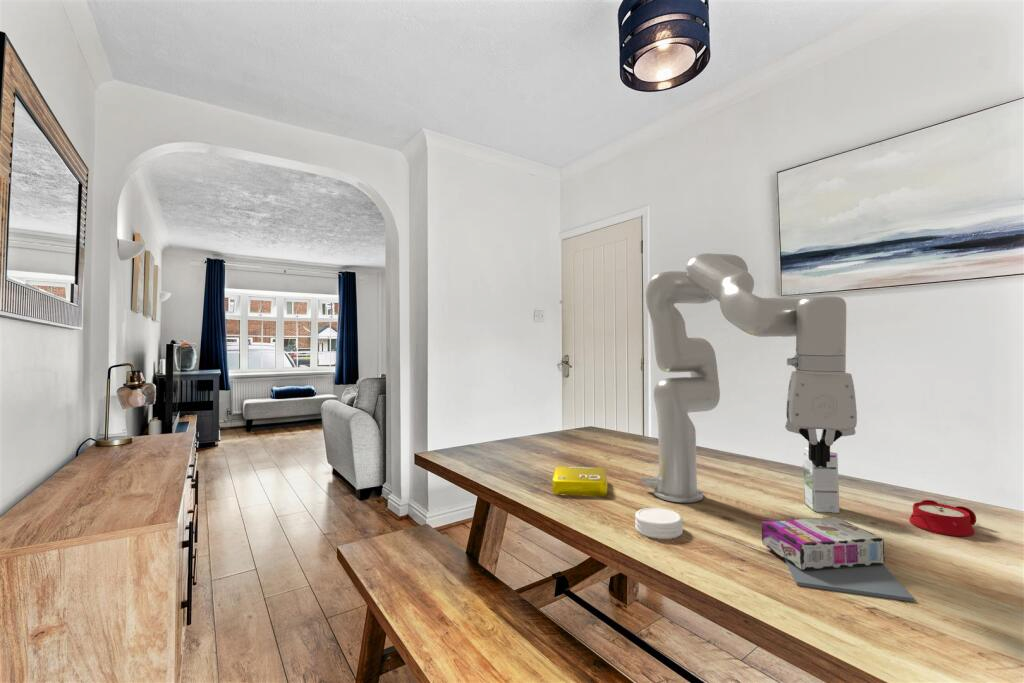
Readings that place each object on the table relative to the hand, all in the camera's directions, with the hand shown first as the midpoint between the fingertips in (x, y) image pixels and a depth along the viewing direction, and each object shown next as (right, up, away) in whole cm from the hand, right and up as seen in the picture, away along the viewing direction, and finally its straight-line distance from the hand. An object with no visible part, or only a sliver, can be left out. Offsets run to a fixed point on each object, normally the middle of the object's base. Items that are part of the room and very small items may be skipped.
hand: (819, 464), depth 84 cm
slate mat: (+2, -19, -1) cm, 19 cm away
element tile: (-37, -20, +48) cm, 64 cm away
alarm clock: (+39, -18, +18) cm, 47 cm away
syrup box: (+20, -19, +29) cm, 39 cm away
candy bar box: (-6, -16, +3) cm, 17 cm away
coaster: (-24, -20, +18) cm, 35 cm away
